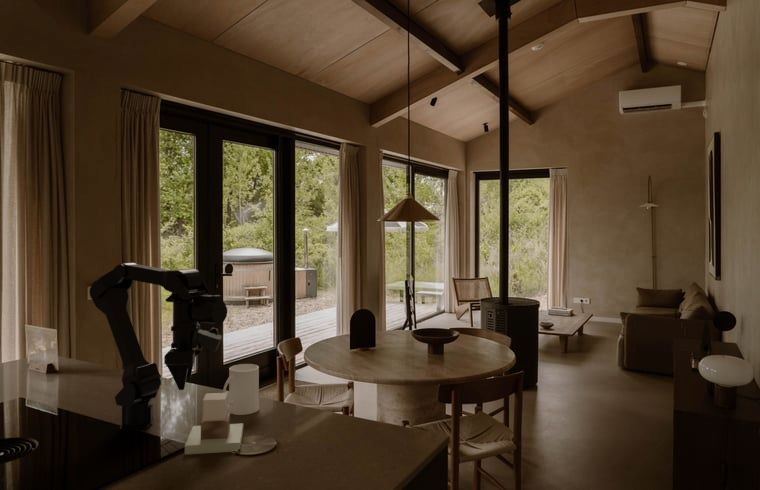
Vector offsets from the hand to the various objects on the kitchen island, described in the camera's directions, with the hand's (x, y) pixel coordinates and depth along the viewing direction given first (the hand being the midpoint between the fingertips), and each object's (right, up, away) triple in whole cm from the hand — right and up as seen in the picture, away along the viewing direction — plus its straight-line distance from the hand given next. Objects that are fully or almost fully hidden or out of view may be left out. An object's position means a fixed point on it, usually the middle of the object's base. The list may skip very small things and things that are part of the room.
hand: (184, 384), depth 129 cm
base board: (+9, -13, -4) cm, 16 cm away
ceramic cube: (+9, -7, -4) cm, 12 cm away
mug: (+9, -12, +17) cm, 23 cm away
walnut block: (+9, -11, -4) cm, 14 cm away
